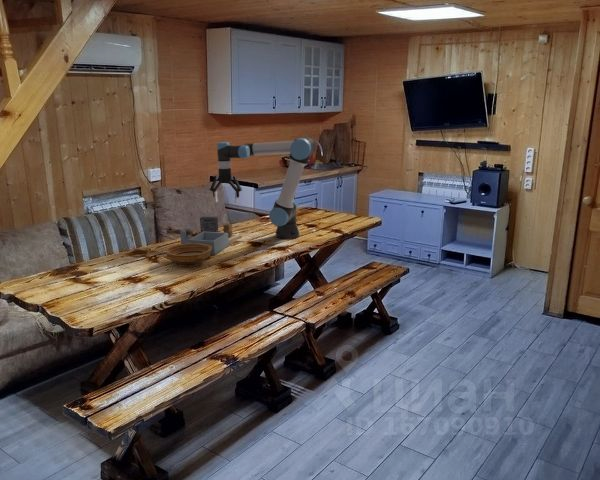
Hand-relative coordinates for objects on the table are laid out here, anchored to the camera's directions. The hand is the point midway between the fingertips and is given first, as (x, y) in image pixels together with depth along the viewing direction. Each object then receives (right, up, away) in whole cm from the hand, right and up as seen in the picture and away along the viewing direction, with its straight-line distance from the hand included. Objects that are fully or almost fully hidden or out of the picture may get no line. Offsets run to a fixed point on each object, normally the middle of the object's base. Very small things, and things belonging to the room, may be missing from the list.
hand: (226, 202), depth 330 cm
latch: (-24, -20, -21) cm, 38 cm away
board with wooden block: (-1, -24, +2) cm, 24 cm away
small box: (-14, -19, +20) cm, 31 cm away
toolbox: (-10, -29, -18) cm, 35 cm away
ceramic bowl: (-14, -36, -45) cm, 59 cm away
